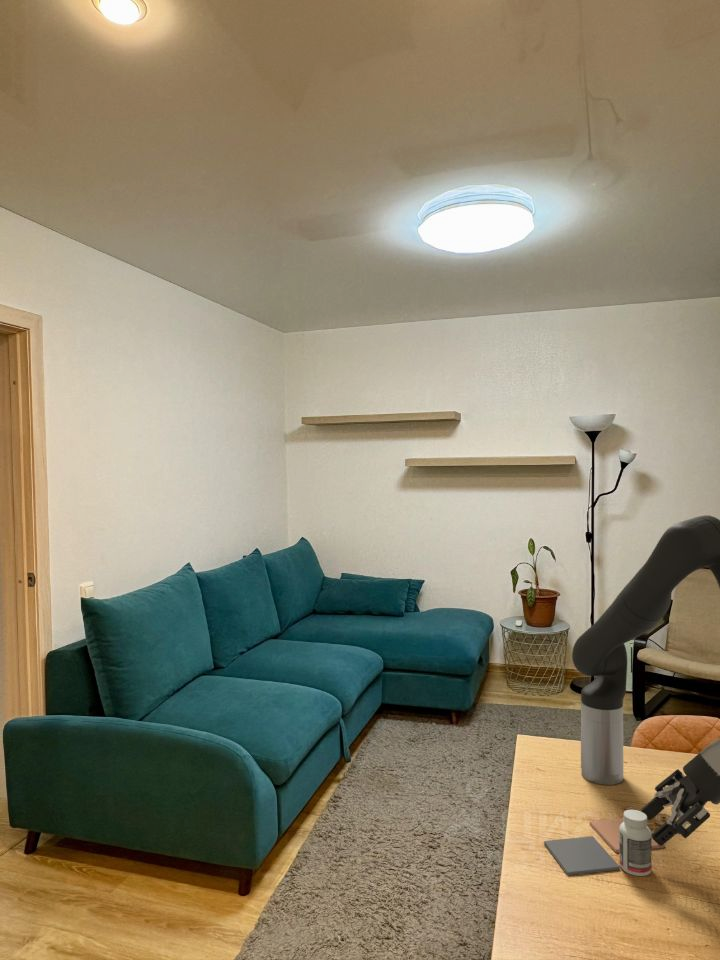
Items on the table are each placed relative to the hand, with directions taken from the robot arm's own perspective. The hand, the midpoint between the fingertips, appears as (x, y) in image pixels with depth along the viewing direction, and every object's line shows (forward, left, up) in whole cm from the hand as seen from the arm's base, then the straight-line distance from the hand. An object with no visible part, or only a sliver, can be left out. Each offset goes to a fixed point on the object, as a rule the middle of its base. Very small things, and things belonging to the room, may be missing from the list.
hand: (649, 827), depth 120 cm
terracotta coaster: (-11, +2, -8) cm, 13 cm away
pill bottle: (-1, -2, -8) cm, 8 cm away
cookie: (-16, +10, -8) cm, 20 cm away
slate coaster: (-6, -10, -8) cm, 14 cm away
